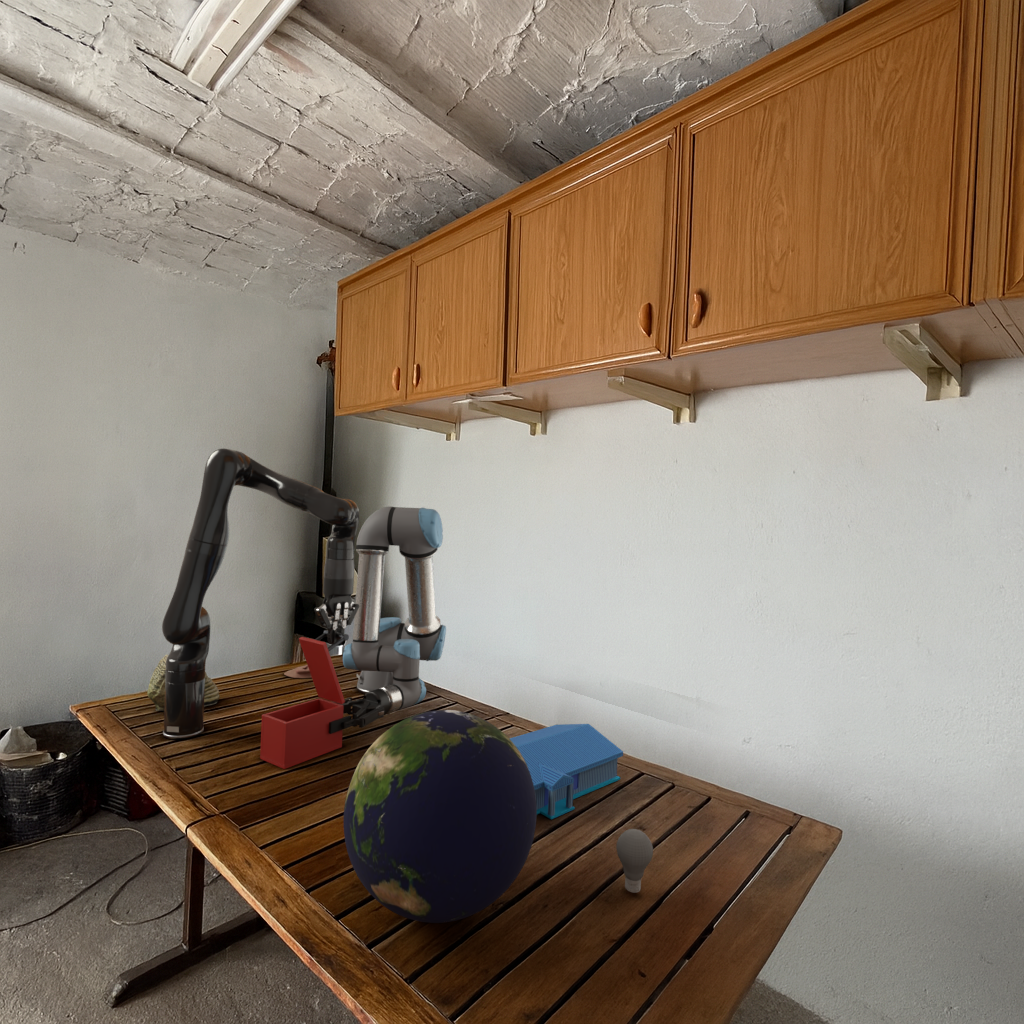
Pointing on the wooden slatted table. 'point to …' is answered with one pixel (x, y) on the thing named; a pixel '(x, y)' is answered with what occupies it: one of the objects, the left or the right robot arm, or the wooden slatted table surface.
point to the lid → (323, 666)
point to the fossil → (158, 687)
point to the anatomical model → (299, 672)
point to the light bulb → (634, 857)
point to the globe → (440, 816)
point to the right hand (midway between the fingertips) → (316, 723)
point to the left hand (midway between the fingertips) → (335, 642)
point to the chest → (299, 732)
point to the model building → (567, 764)
